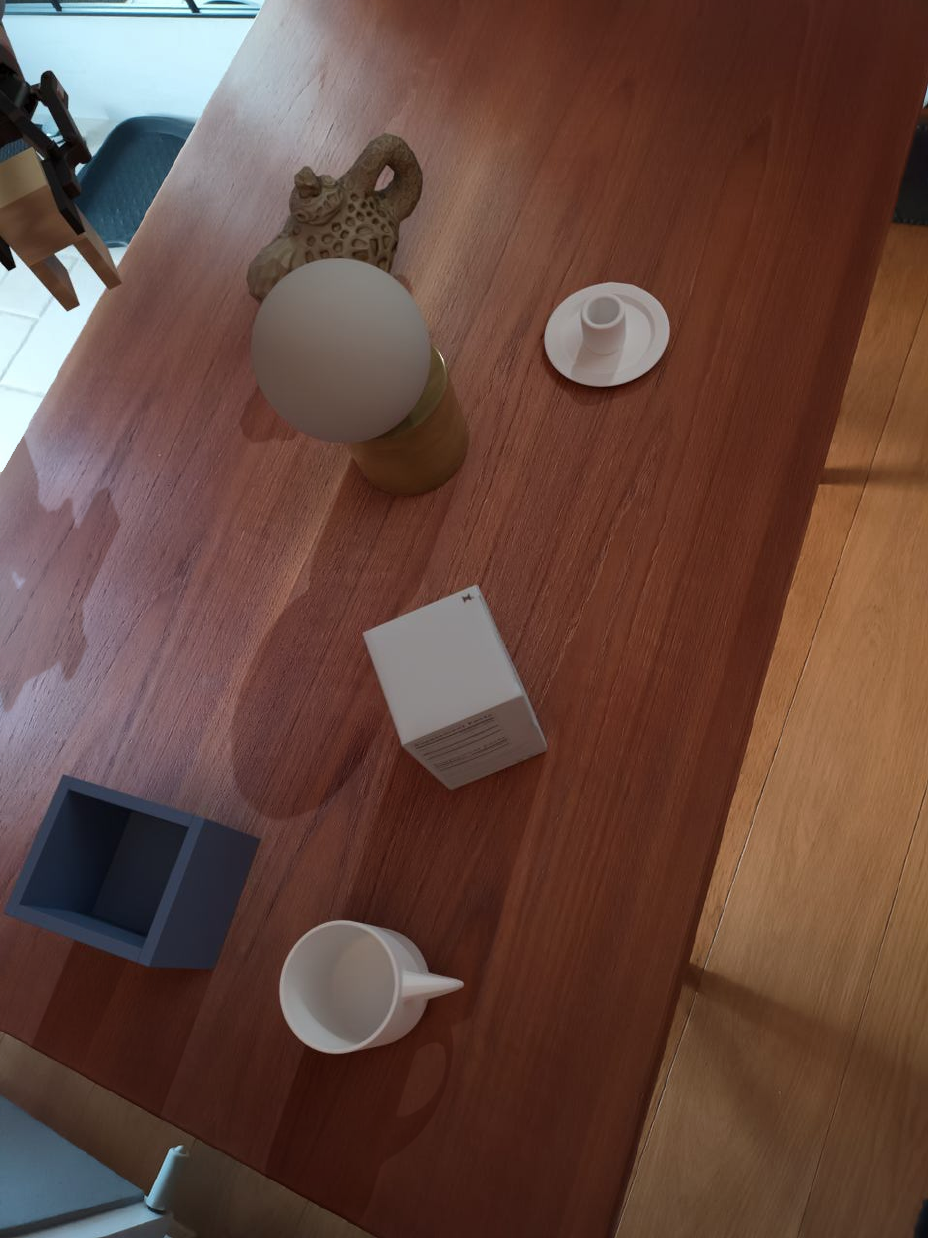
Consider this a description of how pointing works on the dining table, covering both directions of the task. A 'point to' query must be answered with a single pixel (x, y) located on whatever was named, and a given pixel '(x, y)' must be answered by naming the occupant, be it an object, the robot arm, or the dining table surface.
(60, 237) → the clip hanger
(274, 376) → the lamp
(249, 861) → the blue bin
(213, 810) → the dining table surface
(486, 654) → the supplement box
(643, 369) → the candle holder
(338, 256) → the teapot
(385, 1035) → the mug
